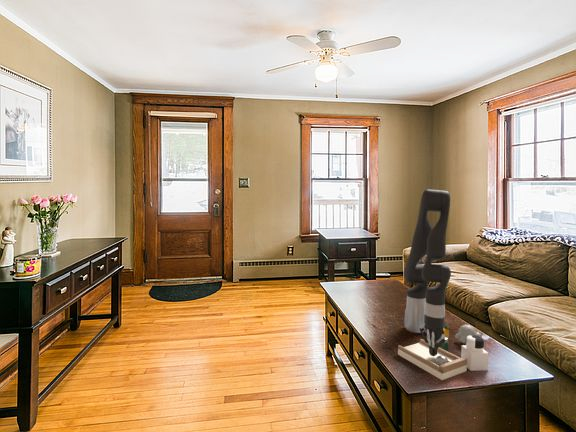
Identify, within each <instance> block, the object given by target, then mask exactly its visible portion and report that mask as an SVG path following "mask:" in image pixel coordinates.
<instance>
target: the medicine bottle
mask: <svg viewBox="0 0 576 432" xmlns="http://www.w3.org/2000/svg"><path fill="white" fill-rule="evenodd" d="M483 338H484V337H482V338H481V337H479V336H476V335H469V336H467V343H466V344H465V345H464V344H463V345H461V354H460V358H462V357H465V358H467V369H468V370H469V371H473V372H474V371H475V372H478V371H479V372H480V371H482V372H483V371H489V352H488V351H486V350H485V347H484V346H485V339H484V340H483Z"/></svg>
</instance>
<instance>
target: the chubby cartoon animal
mask: <svg viewBox="0 0 576 432" xmlns="http://www.w3.org/2000/svg"><path fill="white" fill-rule="evenodd" d="M469 335H476V336H479V337H481V338H483V340H484V341H485V337H483V335H484V334H483V333H480V331H479V330H478V331H477V330H476V329H475V327H473V326H472V325H471V324H463V325H461V326H460V327H459V328H458V333H456V334H455V335H454V338H455V339H456V340H457V341H459V342H460V343H462V344H465V345H466V343H467V336H469Z"/></svg>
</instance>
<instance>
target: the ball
mask: <svg viewBox="0 0 576 432" xmlns="http://www.w3.org/2000/svg"><path fill="white" fill-rule="evenodd" d="M448 362H449V361H448V359H447V358H446V357H445V356H438V357H437V358H436V360H435V363H436V364H437V365H442V364H445V363H448Z"/></svg>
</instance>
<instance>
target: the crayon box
mask: <svg viewBox="0 0 576 432" xmlns="http://www.w3.org/2000/svg"><path fill="white" fill-rule="evenodd" d="M443 330H444V335H445V337H446V338H449V339H450V337H449V336H450V325H449V324H447V323H445V324H444V328H443ZM440 339H441V338H440ZM440 341H441V340H440ZM440 341H439V342H440ZM449 341H450V340H449ZM449 341H448V342H447V343H446V344H444V345H443V346H442V347H439V348H441V349H443V350H445V351H447V352H449Z"/></svg>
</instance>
